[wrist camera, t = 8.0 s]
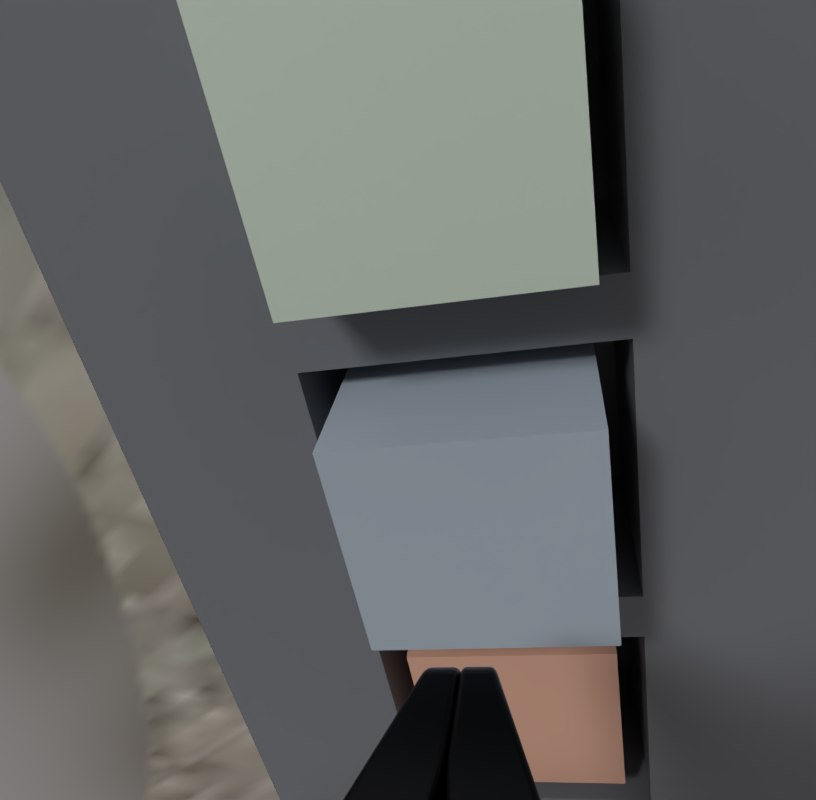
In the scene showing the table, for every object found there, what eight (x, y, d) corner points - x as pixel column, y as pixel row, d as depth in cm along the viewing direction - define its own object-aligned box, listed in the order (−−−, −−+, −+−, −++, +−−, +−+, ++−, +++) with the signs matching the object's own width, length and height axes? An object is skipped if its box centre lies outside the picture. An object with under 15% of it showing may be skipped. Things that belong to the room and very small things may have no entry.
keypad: (922, -1081, 7) (1295, -2054, 4) (773, 661, 19) (828, 818, 15) (-131, -605, 9) (-496, -915, 6) (321, 667, 21) (282, 804, 18)
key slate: (593, 342, 12) (608, 429, 10) (606, 537, 14) (621, 645, 11) (348, 367, 12) (312, 453, 10) (394, 547, 14) (371, 649, 12)
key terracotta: (604, 560, 16) (616, 654, 14) (613, 684, 18) (625, 783, 16) (421, 567, 17) (406, 657, 15) (449, 685, 19) (439, 780, 17)
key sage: (561, -116, 9) (574, -135, 7) (585, 217, 11) (598, 285, 9) (245, -42, 10) (165, -40, 7) (320, 254, 11) (273, 323, 9)
